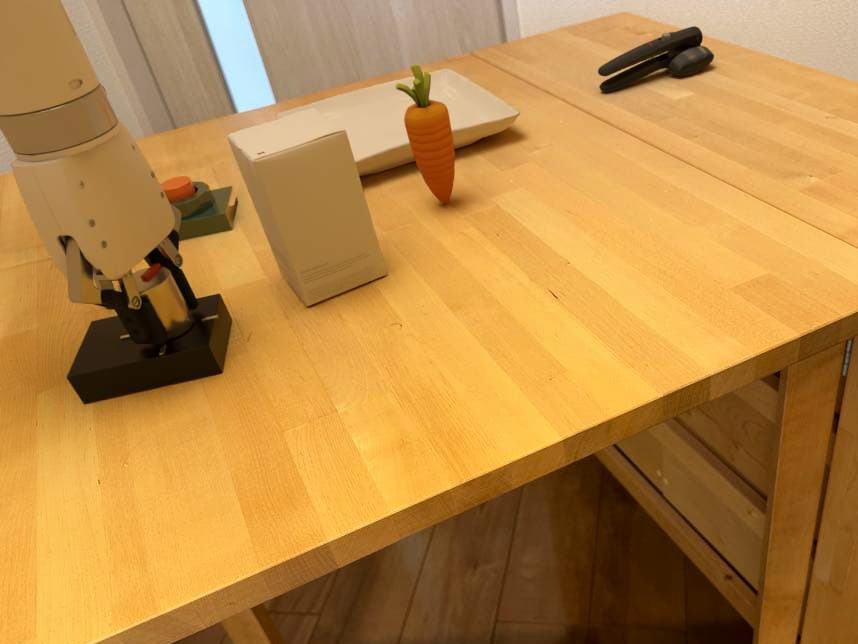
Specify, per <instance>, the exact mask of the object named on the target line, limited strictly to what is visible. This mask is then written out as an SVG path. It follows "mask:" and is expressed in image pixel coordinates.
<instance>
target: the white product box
mask: <svg viewBox="0 0 858 644" xmlns="http://www.w3.org/2000/svg"><path fill="white" fill-rule="evenodd" d="M227 141H228V143H229V146H230V149H231V151H232V154H233V157H234V160H235V162H236V164H237V167H238V169H239V171H240V174H241V177H242V179H243V182H244V184H245V186H246V189H247V191H248V193H249V196H250V199H251V202H252V204H253V207H254V210H255V212H256V215H257V217H258V219H259V222H260V224H261V227H262V229H263V232H264V234H265V235H264V236H265V237H266V240H267V242H268V244H269V247H270V250H271V252H272V255H273V257H274V260H275V262H276V265H277V267H278V270H279V272H280V274H281V276H282V277H283V279H284V280H285V281H286V283H288V285H289V286H290V287H291V289H293V291H294V292H295V294H296V295H297V296H298V297H299V300H300V301H302V303H303V304H304V305H305V306H306V307H310V306H312V305H316V304H317V303H320V302H322V301H325V300H328V299H330V298H332V297H335V296H338V295H340V294H342V293H345V292H347V291H349V290H352V289H354V288H357V287H360V286H363V285H364V284H367V283H369V282H372V281H374V280H378V279H379V278H382V277H384V276H387V275H388V271H387V267H386V263H385V261H384V257H383V253H382V249H381V247H380V244H379V240H378V237H377V233H376V230H375V226H374V223H373V220H372V216H371V213H370V209H369V205H368V202H367V199H366V195H365V192H364V188H363V185H362V181H361V178H360V177H361V176H359V174H358V170H357V167H356V163H355V160H354V156H353V153H352V150H351V146H350V143H349V139H348V136H347V133H346V130H344V129H343V128H341V127H340V126H338V125H337V124H335V123H334V122H333V121H331V120H330V119H328V118H327V117H325V116H324V115H322V114H321V113H320V112H318V111H317V110H315V109H314V108H311V109H308V110H304V111H300V112H297V113H294V114H291V115H288V116H286V117H283V118H280V119H277V118H275V119H274V120H271V121H267V122H264V123H260V124H257V125H254V126H251V127H247V128H244V129H240V130H237V131H234V132H231V133H229V134H228V135H227Z"/></svg>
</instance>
